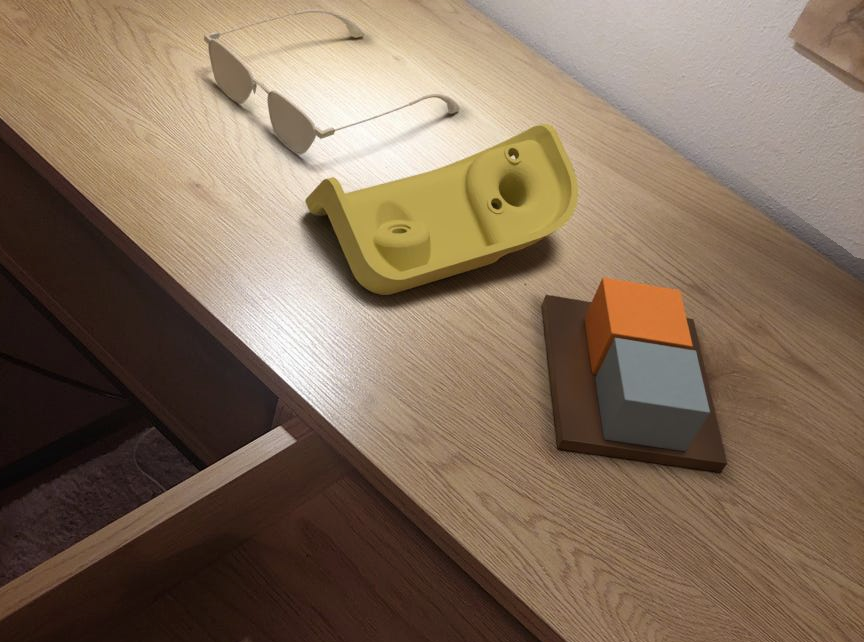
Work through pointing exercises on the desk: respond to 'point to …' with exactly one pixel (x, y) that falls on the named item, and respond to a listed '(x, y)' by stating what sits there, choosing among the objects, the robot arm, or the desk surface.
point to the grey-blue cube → (651, 395)
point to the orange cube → (634, 317)
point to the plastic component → (452, 213)
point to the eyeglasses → (283, 113)
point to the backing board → (580, 397)
